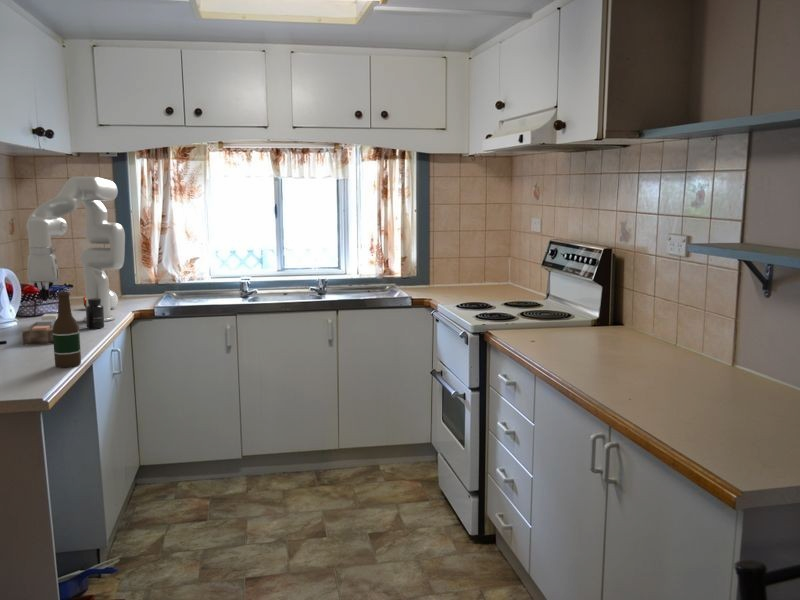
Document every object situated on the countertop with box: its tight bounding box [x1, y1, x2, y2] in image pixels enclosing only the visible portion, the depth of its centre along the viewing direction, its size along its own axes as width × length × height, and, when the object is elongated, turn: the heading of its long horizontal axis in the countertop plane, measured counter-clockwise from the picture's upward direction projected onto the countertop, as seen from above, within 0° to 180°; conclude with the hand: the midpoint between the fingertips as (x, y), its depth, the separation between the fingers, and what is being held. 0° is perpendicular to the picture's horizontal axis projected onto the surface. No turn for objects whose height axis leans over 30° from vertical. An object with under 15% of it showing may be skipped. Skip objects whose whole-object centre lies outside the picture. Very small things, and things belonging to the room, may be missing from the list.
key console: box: [21, 320, 54, 346], centre depth 271 cm, size 11×21×5 cm, turn 13°
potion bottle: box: [82, 289, 119, 310], centre depth 338 cm, size 9×10×15 cm
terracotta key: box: [32, 325, 50, 331], centre depth 264 cm, size 5×5×4 cm
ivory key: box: [41, 313, 58, 321], centre depth 277 cm, size 5×5×4 cm
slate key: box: [36, 319, 55, 327], centre depth 270 cm, size 5×5×4 cm
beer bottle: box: [53, 290, 82, 369], centre depth 227 cm, size 8×8×24 cm
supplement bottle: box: [85, 298, 105, 330], centre depth 292 cm, size 7×7×12 cm
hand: (45, 299), depth 270 cm, fingers closed
